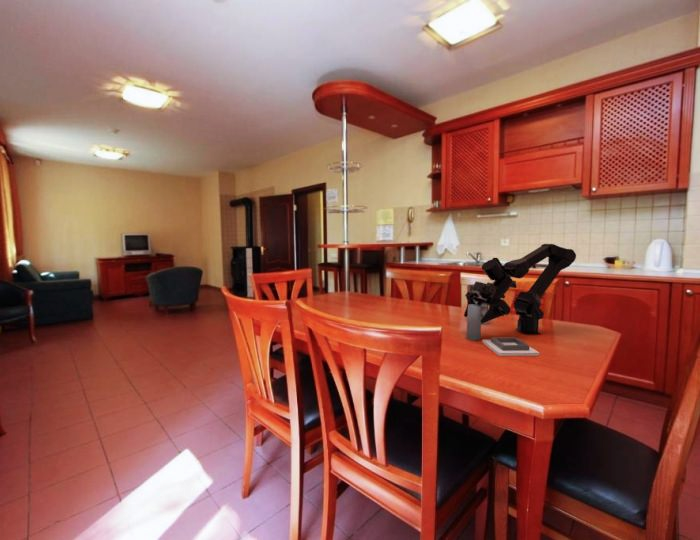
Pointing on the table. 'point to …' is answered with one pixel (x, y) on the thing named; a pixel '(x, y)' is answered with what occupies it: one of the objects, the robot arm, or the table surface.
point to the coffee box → (484, 306)
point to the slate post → (474, 322)
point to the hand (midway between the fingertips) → (472, 319)
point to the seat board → (510, 347)
